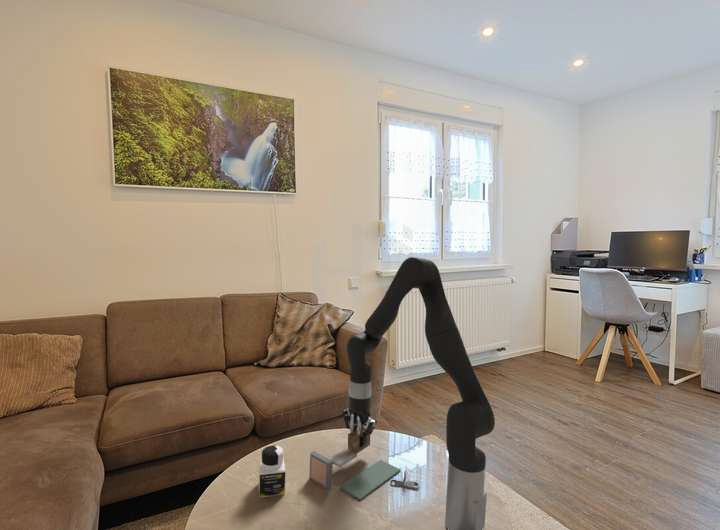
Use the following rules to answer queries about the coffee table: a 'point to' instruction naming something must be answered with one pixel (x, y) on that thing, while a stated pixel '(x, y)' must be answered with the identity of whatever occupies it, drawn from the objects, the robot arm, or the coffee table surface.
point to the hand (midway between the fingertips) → (358, 444)
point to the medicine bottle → (272, 472)
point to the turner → (350, 449)
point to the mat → (369, 479)
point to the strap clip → (408, 484)
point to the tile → (321, 470)
